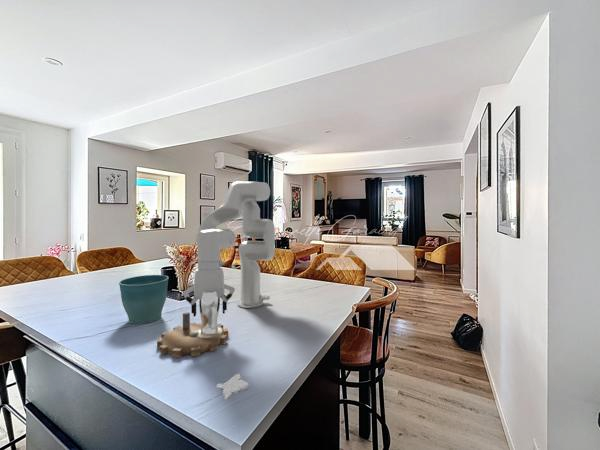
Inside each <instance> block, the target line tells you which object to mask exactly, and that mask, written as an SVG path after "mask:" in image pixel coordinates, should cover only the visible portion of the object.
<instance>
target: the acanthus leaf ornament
mask: <svg viewBox="0 0 600 450" xmlns="http://www.w3.org/2000/svg"><path fill="white" fill-rule="evenodd" d="M239 379H240V380H239ZM222 384H223V385H222ZM221 385H222V386H221ZM216 386H217V387H219V386H221V387H222V388H223V389H224V390H223V389H222V388H221V389H222V395H223V394H224V395H223V396H224V400H225V399H226V398H227V399H229V398H230V397H231V396H232V395H231V394H233V392H237V393H239V391H240V390H242V391H244V390H243V389H246V388H247V389H248V387H249V383H248V382H247V381H244V379H241V375H240V373H239V372H238V373H235V374H234V375H233V376H232V377H231V378H229V379H228V380H227V381H226V382H224V383H217V384H216V385H215V387H216ZM217 387H216V388H217ZM239 389H240V390H239ZM247 389H246V390H247ZM231 390H232V391H233V392H232V391H231ZM230 395H231V396H230ZM229 396H230V397H229ZM228 397H229V398H228ZM227 399H226V400H227Z"/></svg>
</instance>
